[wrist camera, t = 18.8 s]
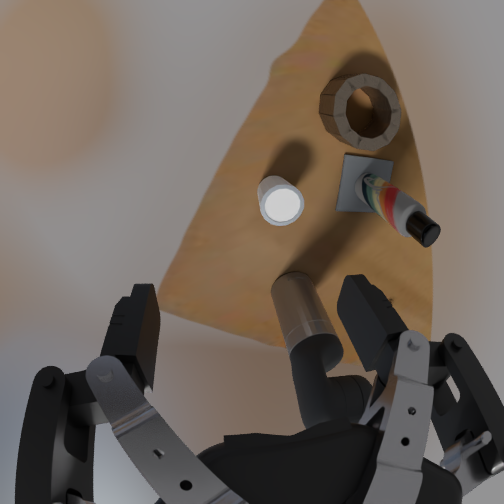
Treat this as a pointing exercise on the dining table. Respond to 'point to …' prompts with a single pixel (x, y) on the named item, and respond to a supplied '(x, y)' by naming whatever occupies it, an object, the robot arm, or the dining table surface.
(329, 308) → the dining table surface
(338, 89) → the collar
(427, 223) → the lotion bottle
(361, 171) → the rubber mat
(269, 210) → the white cylinder
